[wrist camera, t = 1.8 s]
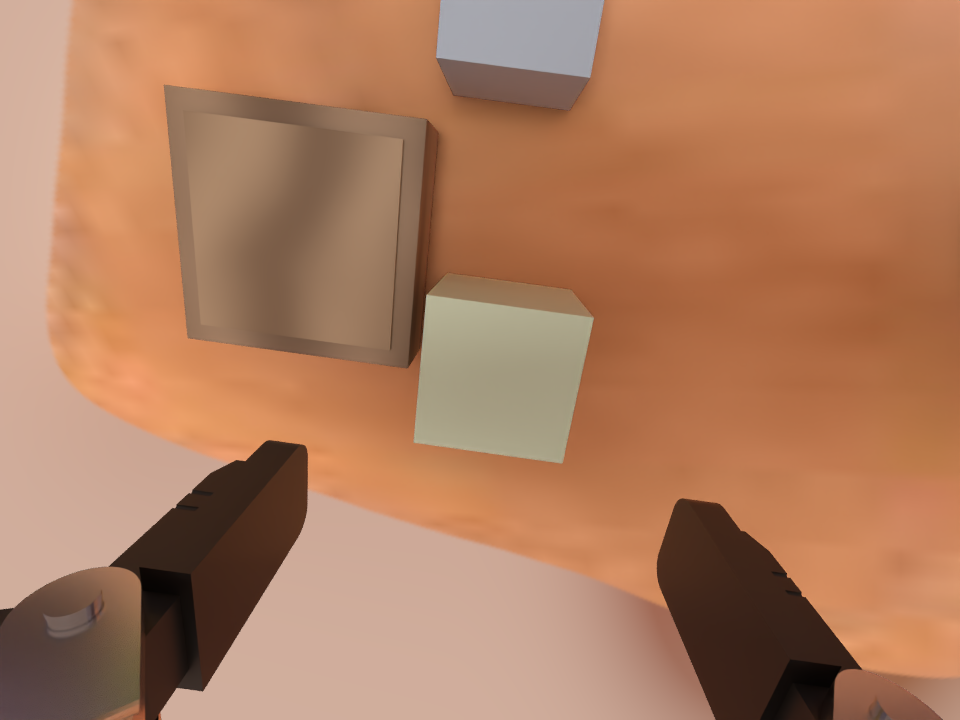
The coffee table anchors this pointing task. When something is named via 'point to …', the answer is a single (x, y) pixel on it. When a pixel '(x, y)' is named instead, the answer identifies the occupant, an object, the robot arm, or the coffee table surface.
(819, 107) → the coffee table surface
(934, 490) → the coffee table surface
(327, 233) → the walnut square pad
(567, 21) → the slate block
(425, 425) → the sage block
